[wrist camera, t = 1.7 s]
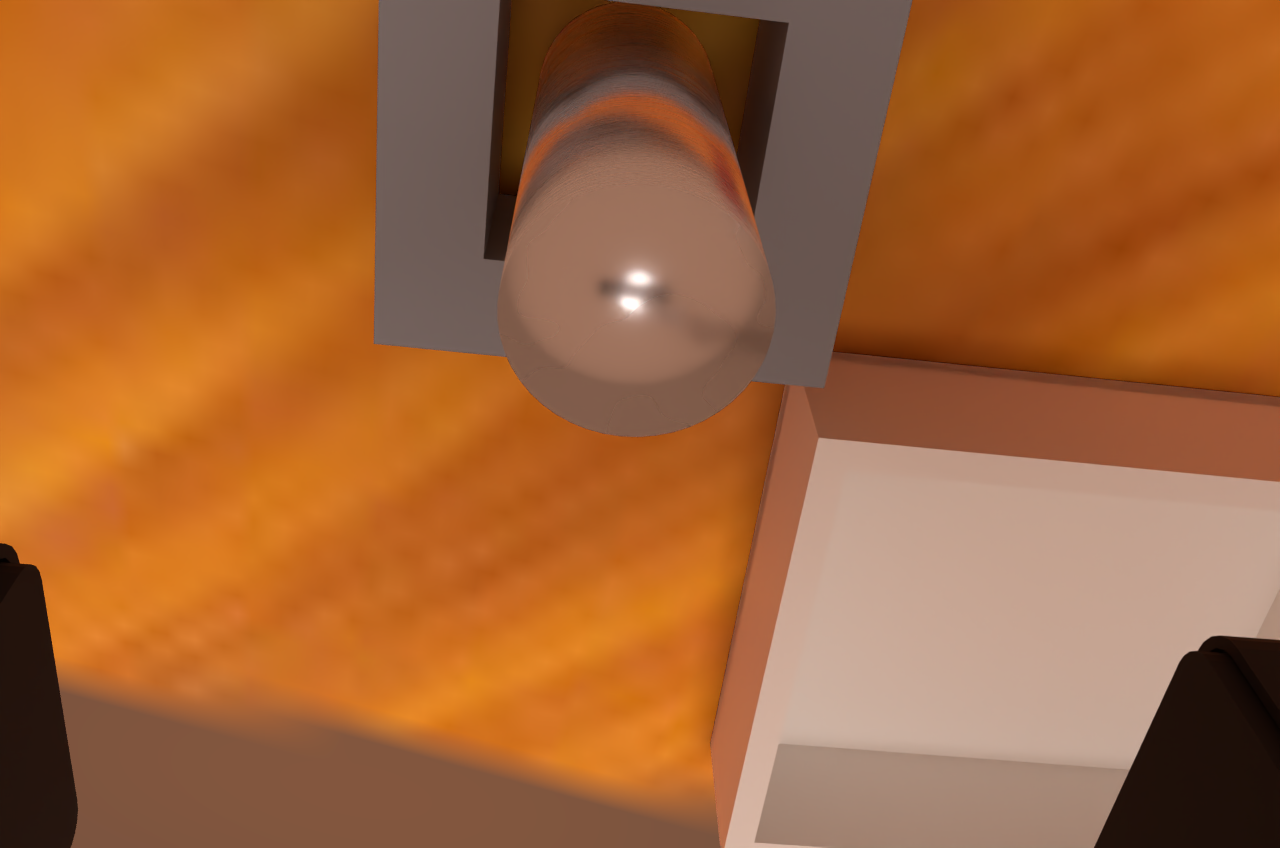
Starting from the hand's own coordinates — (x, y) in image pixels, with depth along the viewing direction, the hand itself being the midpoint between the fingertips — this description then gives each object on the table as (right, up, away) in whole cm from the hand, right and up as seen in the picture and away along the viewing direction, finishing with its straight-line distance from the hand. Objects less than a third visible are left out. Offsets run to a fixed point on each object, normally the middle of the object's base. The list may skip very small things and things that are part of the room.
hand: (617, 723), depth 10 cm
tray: (+11, -2, +25) cm, 28 cm away
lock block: (0, +10, +18) cm, 20 cm away
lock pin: (0, +10, +18) cm, 20 cm away
